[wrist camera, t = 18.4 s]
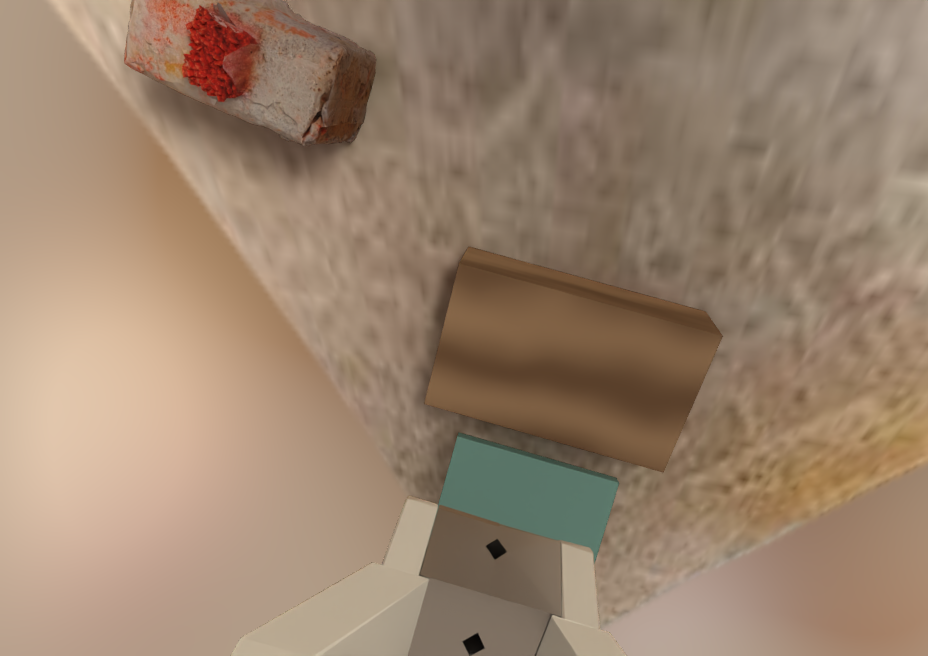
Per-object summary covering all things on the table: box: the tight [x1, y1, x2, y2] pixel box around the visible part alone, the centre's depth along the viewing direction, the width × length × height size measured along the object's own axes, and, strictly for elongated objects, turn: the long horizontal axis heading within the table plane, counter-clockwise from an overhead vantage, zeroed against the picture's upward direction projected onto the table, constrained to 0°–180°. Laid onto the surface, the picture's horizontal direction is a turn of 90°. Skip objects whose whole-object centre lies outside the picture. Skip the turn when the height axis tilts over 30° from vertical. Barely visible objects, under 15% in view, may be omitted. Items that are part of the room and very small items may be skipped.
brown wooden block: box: [424, 247, 723, 472], centre depth 46 cm, size 11×18×5 cm, turn 76°
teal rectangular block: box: [428, 433, 619, 564], centre depth 46 cm, size 1×12×9 cm
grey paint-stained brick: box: [124, 0, 376, 146], centre depth 39 cm, size 14×8×10 cm, turn 69°
